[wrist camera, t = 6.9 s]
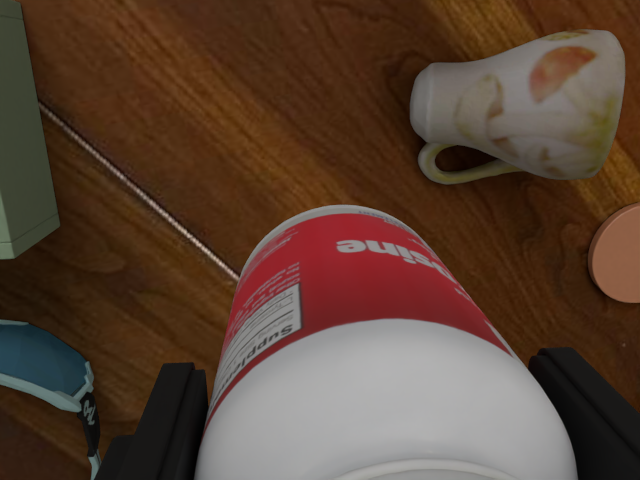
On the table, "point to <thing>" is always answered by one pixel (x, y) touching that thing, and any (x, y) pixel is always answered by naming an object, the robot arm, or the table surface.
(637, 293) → the coaster
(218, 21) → the table surface
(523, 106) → the mug
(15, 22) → the bin
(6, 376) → the sunglasses
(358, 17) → the table surface
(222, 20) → the table surface
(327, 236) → the pill bottle
